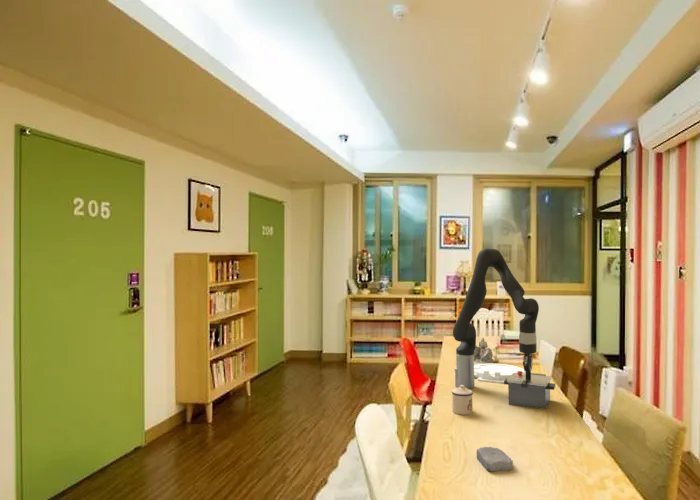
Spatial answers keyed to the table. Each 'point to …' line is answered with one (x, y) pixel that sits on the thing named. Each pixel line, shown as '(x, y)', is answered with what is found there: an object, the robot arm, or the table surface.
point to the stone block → (494, 459)
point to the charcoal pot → (529, 395)
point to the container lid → (494, 372)
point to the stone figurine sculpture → (483, 353)
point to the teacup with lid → (462, 400)
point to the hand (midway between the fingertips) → (528, 379)
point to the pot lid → (535, 380)
